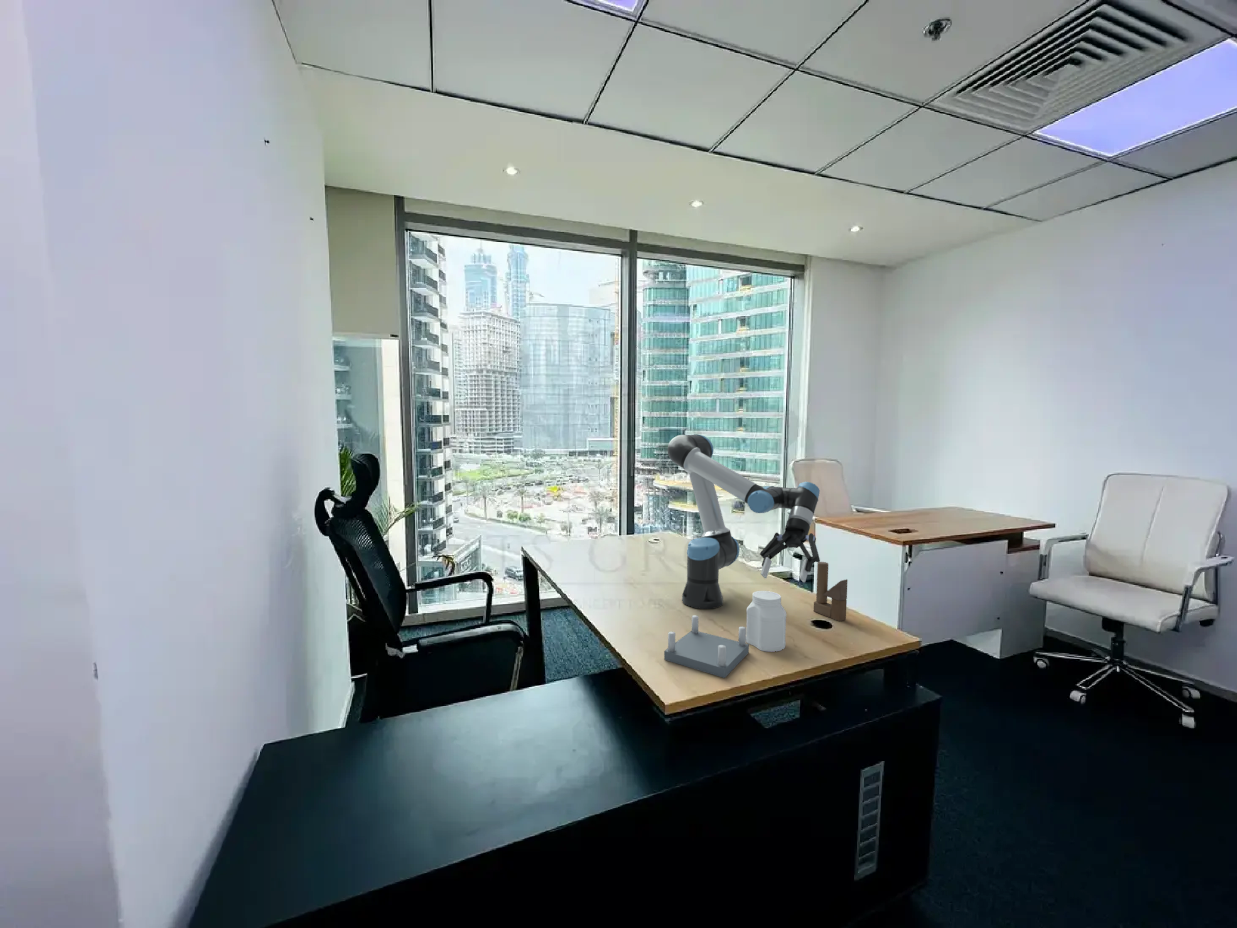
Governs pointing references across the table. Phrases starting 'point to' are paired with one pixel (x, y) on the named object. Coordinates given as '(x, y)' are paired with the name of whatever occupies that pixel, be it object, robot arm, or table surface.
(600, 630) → the table surface
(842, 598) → the wooden block
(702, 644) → the peg board
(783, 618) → the jar
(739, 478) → the robot arm
